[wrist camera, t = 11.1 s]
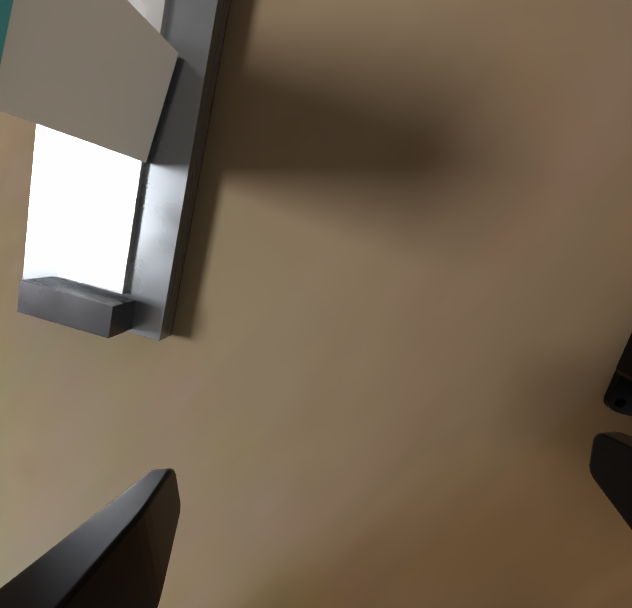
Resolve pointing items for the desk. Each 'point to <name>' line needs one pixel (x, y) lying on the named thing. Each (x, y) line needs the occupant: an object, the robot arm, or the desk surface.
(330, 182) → the desk surface
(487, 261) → the desk surface
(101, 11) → the block
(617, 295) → the desk surface
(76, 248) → the mounting plate
